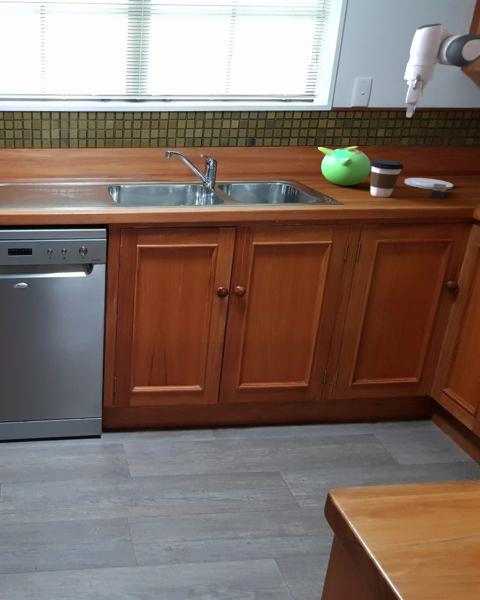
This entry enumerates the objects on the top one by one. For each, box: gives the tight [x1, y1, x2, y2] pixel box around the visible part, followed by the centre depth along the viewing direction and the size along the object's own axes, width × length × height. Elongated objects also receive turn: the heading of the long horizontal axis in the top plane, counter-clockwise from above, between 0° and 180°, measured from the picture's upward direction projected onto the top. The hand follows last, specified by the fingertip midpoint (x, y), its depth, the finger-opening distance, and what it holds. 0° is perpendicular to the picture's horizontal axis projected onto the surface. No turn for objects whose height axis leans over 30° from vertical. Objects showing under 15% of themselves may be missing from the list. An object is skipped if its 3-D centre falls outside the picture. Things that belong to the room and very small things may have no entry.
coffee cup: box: [369, 158, 405, 198], centre depth 218 cm, size 11×11×12 cm
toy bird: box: [317, 145, 372, 187], centre depth 232 cm, size 18×17×15 cm
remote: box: [430, 183, 447, 200], centre depth 222 cm, size 14×4×3 cm, turn 149°
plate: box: [404, 177, 454, 191], centre depth 239 cm, size 17×17×1 cm
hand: (409, 115), depth 217 cm, fingers open, 8 cm apart
